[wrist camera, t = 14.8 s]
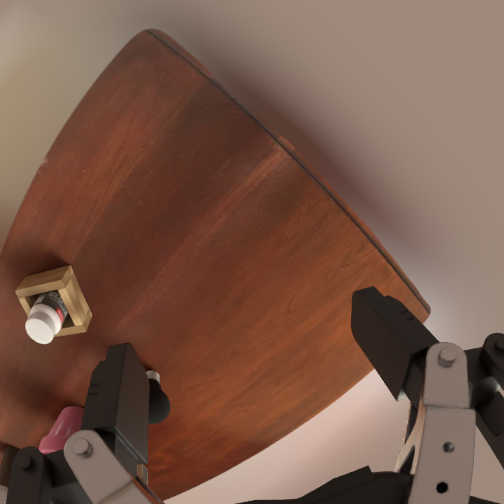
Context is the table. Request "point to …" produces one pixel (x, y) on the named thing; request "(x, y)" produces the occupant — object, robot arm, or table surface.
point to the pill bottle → (46, 317)
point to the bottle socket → (68, 291)
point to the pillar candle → (7, 467)
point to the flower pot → (62, 429)
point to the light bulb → (156, 400)
